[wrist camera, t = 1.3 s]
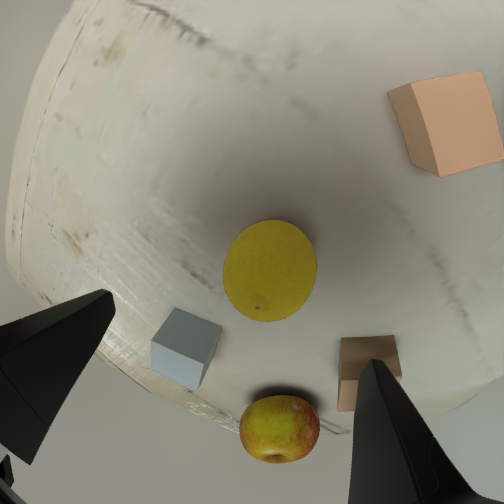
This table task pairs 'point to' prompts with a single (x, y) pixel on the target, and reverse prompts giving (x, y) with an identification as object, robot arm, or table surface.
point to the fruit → (279, 429)
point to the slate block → (184, 348)
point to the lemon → (269, 270)
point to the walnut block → (363, 364)
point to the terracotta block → (448, 123)
